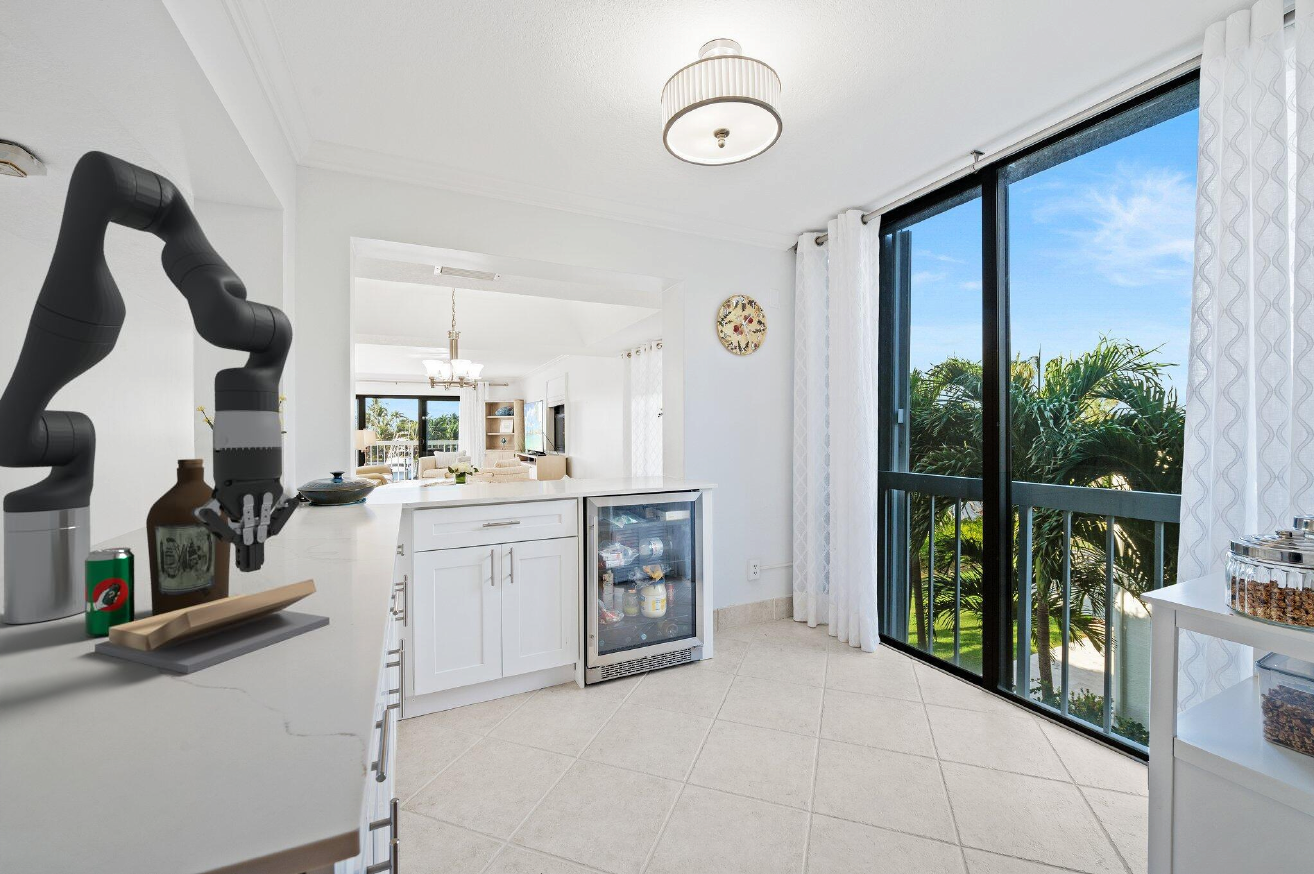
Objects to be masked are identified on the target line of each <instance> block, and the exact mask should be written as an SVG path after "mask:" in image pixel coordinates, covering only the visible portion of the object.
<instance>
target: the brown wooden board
mask: <svg viewBox="0 0 1314 874" xmlns="http://www.w3.org/2000/svg"><path fill="white" fill-rule="evenodd" d="M314 593H317V588H316V586H315V582H314V578H311V579H307V580H303V581H299V582H296V583H292V584H288V585H283V586H280V587H276V588H271V589H269V590H264V591H259V592H257V593H252V594H249V596H245V597H241V598H237V599H233V600H229V601H226V602H222V603H218V604H214V605H210V606H206V607H203V608H199V609H195V610H191V611H187V612H185V613H183V614H182V615H180V616H178V617H177V618H175V619H173V620H172V621H170V622H168V623H167V624H165V625H163V626H161V627H160V628H158V629H156V630H155V631H153V632H151V633H150V634H148V639H149V642H150V646H151V650H152V649H156V648H159V647H162V646H166V645H169V644H172V643H176V642H179V641H182V640H185V639H189V638H192V637H195V636H199V635H202V634H205V633H209V632H212V631H215V630H219V629H222V628H225V627H229V626H232V625H235V624H238V623H242V622H245V621H248V620H252V619H255V618H258V617H262V616H265V615H268V614H272V613H275V612H278V611H281V610H284V609H286V608H288V607H290V606H292V605H294V604H295V603H297V602H299V601H302V600H303V599H305V598H307V597H309V596H310V595H312V594H314Z"/></svg>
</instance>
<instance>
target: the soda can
mask: <svg viewBox="0 0 1314 874" xmlns="http://www.w3.org/2000/svg"><path fill="white" fill-rule="evenodd" d="M131 550H132V548H131V547H112V548H104V549H103V548H102V549H97V550H93V551H90V552H89V556H88V558H87V559H86V560H85V611H84V623H85V624H84V627H85V629H84V631H85V634H86V635H87V636H89V637H91V638H92V637H93V638H100V637H109V628H110V627H114V626H118V625H121V624H125V623H129V622H133V621H136V610H135V609H136V608H135V607H136V604H135V603H136V601H135V599H136V598H135V597H136V594H135V590H136V589H135V582H136V581H135V579H136V578H135V576H136V575H135V554H134V553H133V551H131Z"/></svg>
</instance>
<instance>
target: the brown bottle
mask: <svg viewBox="0 0 1314 874" xmlns="http://www.w3.org/2000/svg"><path fill="white" fill-rule="evenodd" d="M203 464H204V459H203V458H187V459H184V458H181V459H178V460H177V467H176V479H177V480H176V483H175V484H174V485H172V487H171V488H170V489H168V490H167V491H166V492H165V493H164V494H163V495H161V496H160V498H158V499H157V500H156V501H155V502H154V503H153V504H152V505H151V507H150V508H149V511H148V514H147V517H146V523H145V525H146V527H145V528H146V537H147V538H146V539H147V547H148V548H147V549H148V550H147V551H148V563H149V564H148V565H149V576H150V577H149V578H150V590H151V594H150V595H151V613H152V614H151V615H152V616H151V617H153V616H157V615H161V614H165V613H168V612H172V611H176V610H180V609H184V608H188V607H192V606H196V605H200V604H204V603H208V602H212V601H215V600H219V599H223V598H227V597H230V596H229V594H230V593H229V589H230V586H229V585H230V562H231V544H232V543H228V542H220V541H218V540H217V539H216V538H215V537H214V536H213V535H212V534H211V533H210V532H209V531H208V530H207V529H206V528H205V527H204V526H203V525H202V524H200V523H199V522H198V521H197V520H196V519H195V518H194V517H193V516H192V515H191V511H192V510H193V509H194V508H200V507H202V506H203V505H204V504H206V503H207V502H208V501H209V500H211V493H212V491H213V489H214V488H212V487H211V486H210V485H209V484H207V483H206V482H205V467H204V466H203ZM219 510H220V511H221V509H220V508H219ZM220 517H221V518H222V519H223V520H224V521H225V522H226V523H227V524H228V517H227V516H226V515H225V514H224V513H223V512H222V511H221V515H220Z"/></svg>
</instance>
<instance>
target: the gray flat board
mask: <svg viewBox="0 0 1314 874" xmlns="http://www.w3.org/2000/svg"><path fill="white" fill-rule="evenodd" d="M328 625H330V617H329V616H321V615H317V614H311V613H303V612H297V611H290V610H284V609H283V610H281V611H278V612H275V613H272V614H268V615H265V616H262V617H258V618H255V619H252V620H248V621H245V622H242V623H238V624H235V625H232V626H229V627H225V628H222V629H219V630H215V631H212V632H209V633H205V634H202V635H199V636H195V637H192V638H189V639H185V640H182V641H179V642H176V643H172V644H169V645H166V646H162V647H159V648H156V649H152V650H147V651H145V650H140V649H136V648H131V647H127V646H122V645H118V644H113V643H109V640H107V641H103V642H98V643H95V644H94V652H95V653H98V654H101V655H106V656H111V657H114V658H118V659H119V658H120V659H122V660H128V661H132V662H135V663H140V664H145V665H148V666H153V667H156V668H161V669H165V670H169V671H174V672H178V673H183V674H186V675H189V674H192V673H195V672H199V671H200V670H204V669H206V668H210V667H212V666H215V665H218V664H221V663H223V662H226V661H230V660H232V659H234V658H237V657H240V656H244V655H245V654H249V653H251V652H255V651H257V650H259V649H263V648H265V647H268V646H271V645H274V644H276V643H280V642H282V641H285V640H288V639H291V638H293V637H296V636H299V635H302V634H305V633H307V632H311V631H313V630H316V629H318V628H322V627H325V626H328Z"/></svg>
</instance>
